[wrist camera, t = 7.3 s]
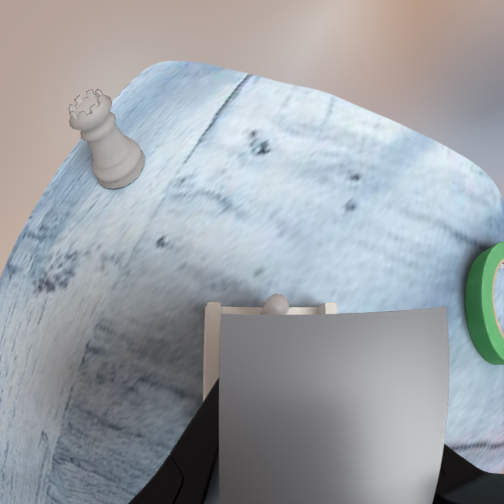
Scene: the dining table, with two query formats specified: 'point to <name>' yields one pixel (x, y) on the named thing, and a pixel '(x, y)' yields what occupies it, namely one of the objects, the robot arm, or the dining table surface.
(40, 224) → the dining table surface
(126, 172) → the rook chess piece
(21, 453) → the dining table surface
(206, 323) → the tray
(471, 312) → the tape roll
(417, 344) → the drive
